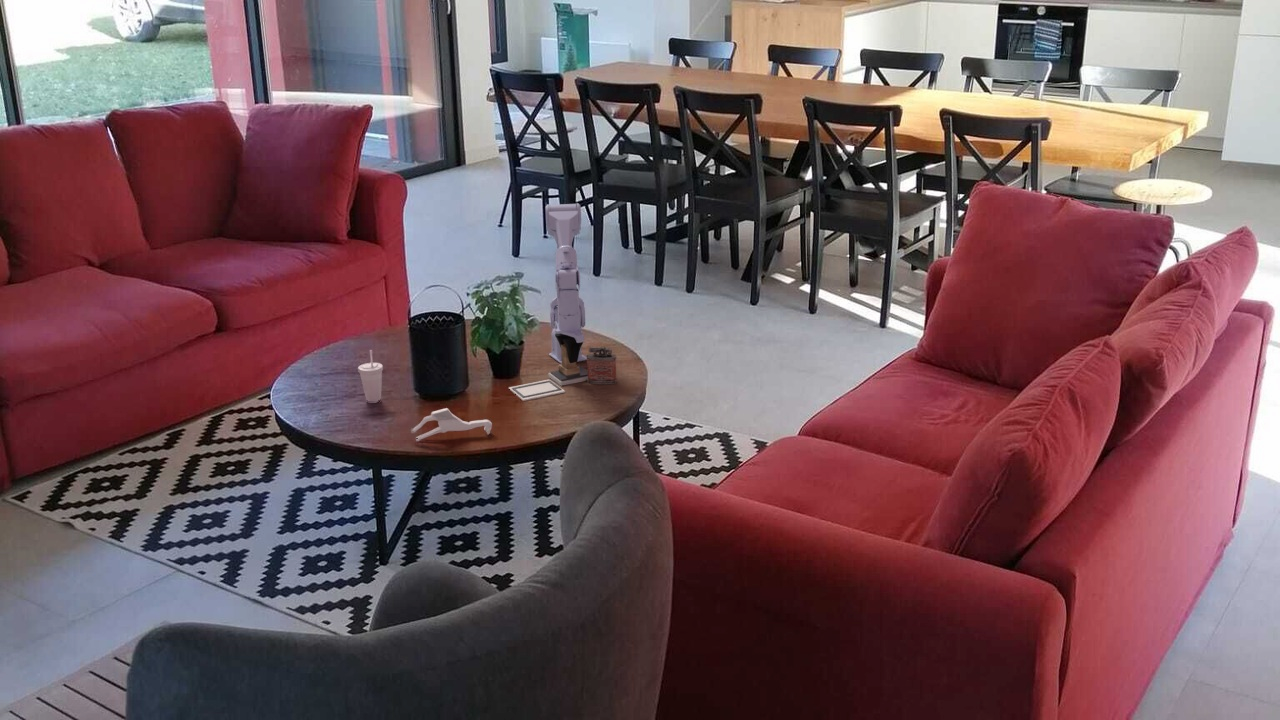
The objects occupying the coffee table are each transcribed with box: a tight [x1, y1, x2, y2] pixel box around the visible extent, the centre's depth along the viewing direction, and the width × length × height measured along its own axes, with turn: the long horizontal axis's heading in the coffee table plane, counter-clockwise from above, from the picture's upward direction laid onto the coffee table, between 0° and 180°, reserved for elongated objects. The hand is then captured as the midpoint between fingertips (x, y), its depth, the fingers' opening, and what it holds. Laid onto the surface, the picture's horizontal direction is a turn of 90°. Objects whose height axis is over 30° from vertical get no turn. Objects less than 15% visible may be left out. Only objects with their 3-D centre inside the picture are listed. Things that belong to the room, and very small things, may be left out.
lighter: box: [586, 345, 618, 385], centre depth 332 cm, size 8×3×10 cm, turn 84°
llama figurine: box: [410, 407, 493, 442], centre depth 300 cm, size 2×11×18 cm
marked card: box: [508, 378, 566, 402], centre depth 328 cm, size 10×12×1 cm
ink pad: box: [547, 365, 588, 387], centre depth 337 cm, size 8×10×2 cm
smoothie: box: [357, 349, 384, 401], centre depth 321 cm, size 6×6×14 cm
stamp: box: [558, 344, 580, 377], centre depth 335 cm, size 5×4×8 cm
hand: (570, 360), depth 335 cm, fingers closed on stamp, 3 cm apart
